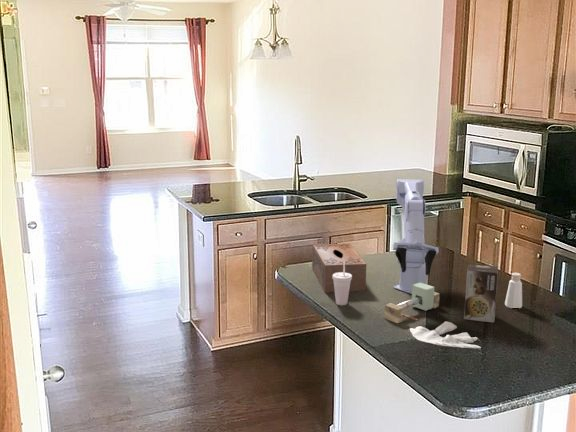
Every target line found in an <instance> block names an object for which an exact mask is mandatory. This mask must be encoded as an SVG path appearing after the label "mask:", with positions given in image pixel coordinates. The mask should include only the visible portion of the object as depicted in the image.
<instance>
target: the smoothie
mask: <svg viewBox="0 0 576 432" xmlns="http://www.w3.org/2000/svg"><path fill="white" fill-rule="evenodd" d="M332 278H333V280H334V290H335V292H334V296H335V297H334V298H335V304H336V305H338V306H346V305H348V302H349V301H348V300H349V295H350V291H349V288H350V282H351V279H352V275H351V274H349V273H345V262H343V272H338V273H334V274H333V277H332Z"/></svg>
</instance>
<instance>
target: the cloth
mask: <svg viewBox="0 0 576 432" xmlns="http://www.w3.org/2000/svg"><path fill="white" fill-rule="evenodd" d="M456 329H458V326H457V325H455V324H454V323H452V322H450V321H446V320H445V321H444V322H443V323H441V324H440V325H438V326H437V327H436V328H435V329H432V330H430V329H428V328H427V327H424V326H421V325H420V326H416V327H415V328H411V327H410V328H409V331H410V333H411V335H412V336H413V338H414V339H416V340H418V341H419V342H424V343H427V344H433V345H437V346H442V347H449V348H451V347H452V348H462V349H464V348H466V349H481V348H482V347H481V346H479V345H478V344H477V345H476V344H474V342H481V340H480V338H478V337H476V336H475V337H473V336H472V337H471V335H470V334H469V333H468V332H461V333H458V334H451V335H450V334H446V333H448V332H451V331H454V330H456ZM444 334H446V336H444V337H443V336H440V335H444ZM471 343H473V344H471Z"/></svg>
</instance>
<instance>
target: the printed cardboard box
mask: <svg viewBox="0 0 576 432" xmlns="http://www.w3.org/2000/svg"><path fill="white" fill-rule="evenodd" d="M498 275H499V267H498V266H494V265H493V266H492V265H482V264H481V265H480V264H470V263H469V264H467V268H466V281H465V282H466V284H465V299H464V313H463V314H464V315H463V320H469V321H477V322H487V323H492V324H493V323H495V321H496V320H495V317H496V308H497V307H496V305H497V304H496V303H497V291H498V277H499V276H498Z"/></svg>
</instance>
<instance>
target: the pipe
mask: <svg viewBox="0 0 576 432" xmlns="http://www.w3.org/2000/svg"><path fill="white" fill-rule="evenodd" d="M421 302H422V297H421V296H419V297H416V298H413V299H412V298H411V299H408V300H406V301H402V302H401V303H399V304H398V303H397V304H396V305H397V306H400V307H403V310H407V309H408V308H410V307H414V306H413V305H416V304H418V303H421ZM390 308H391V307H390ZM389 310H390V309H389ZM391 310H394V309H392V308H391ZM393 313H394V311H393ZM393 313H392V312H391V314H393Z"/></svg>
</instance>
